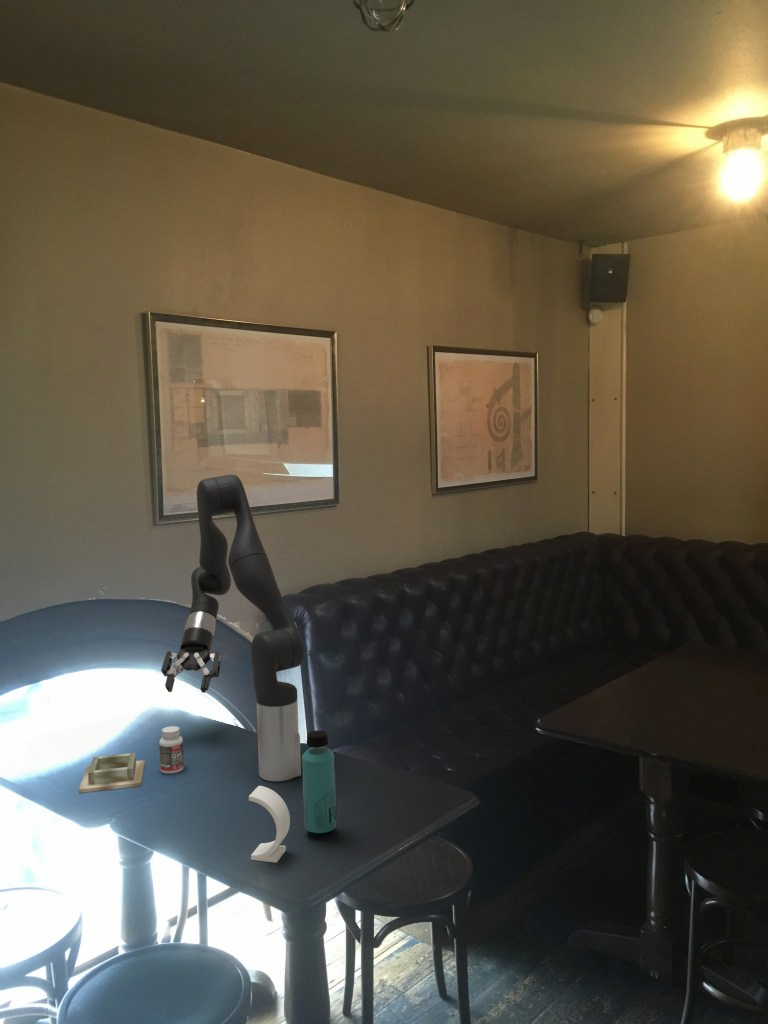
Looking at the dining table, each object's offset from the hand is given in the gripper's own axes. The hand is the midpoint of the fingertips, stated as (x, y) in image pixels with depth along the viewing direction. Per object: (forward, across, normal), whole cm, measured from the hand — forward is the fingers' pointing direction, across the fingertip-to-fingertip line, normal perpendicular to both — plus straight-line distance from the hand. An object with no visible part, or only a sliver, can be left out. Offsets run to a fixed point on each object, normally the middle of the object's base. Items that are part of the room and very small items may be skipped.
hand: (185, 691), depth 198 cm
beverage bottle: (+39, +40, -18) cm, 58 cm away
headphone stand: (+45, +32, -24) cm, 60 cm away
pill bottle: (+19, 0, +2) cm, 19 cm away
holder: (+22, -12, -1) cm, 25 cm away
